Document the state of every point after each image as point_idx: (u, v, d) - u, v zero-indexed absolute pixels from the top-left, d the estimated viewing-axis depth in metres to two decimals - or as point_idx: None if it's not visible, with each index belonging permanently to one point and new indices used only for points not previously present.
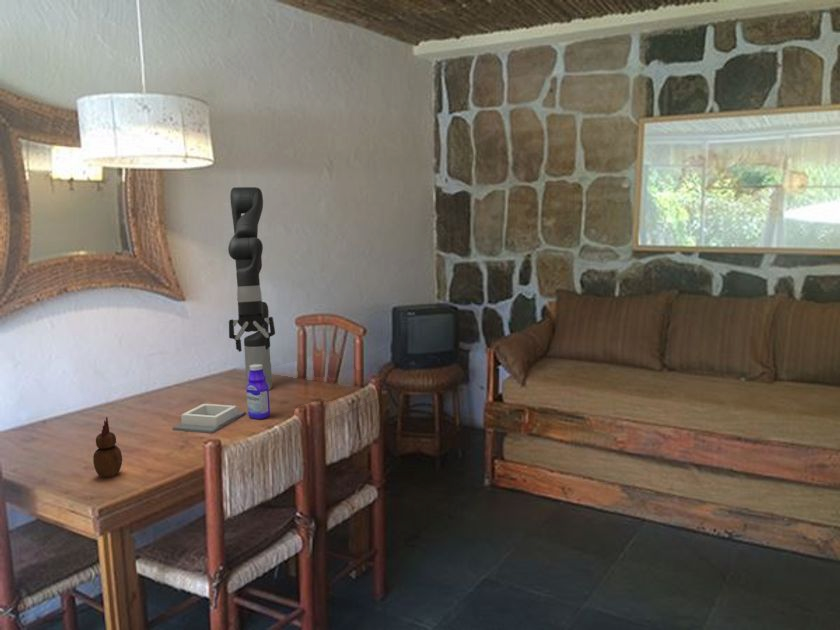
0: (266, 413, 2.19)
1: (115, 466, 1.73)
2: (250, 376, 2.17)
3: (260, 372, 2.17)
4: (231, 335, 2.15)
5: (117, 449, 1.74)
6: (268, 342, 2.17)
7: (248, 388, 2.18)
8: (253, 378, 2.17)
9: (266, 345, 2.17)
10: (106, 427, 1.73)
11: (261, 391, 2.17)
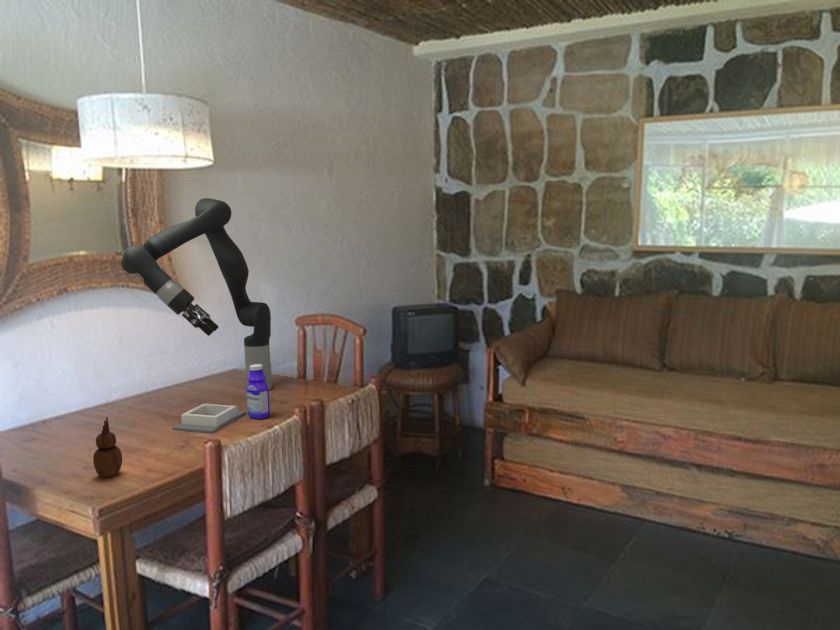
0: (266, 413, 2.19)
1: (115, 466, 1.73)
2: (250, 376, 2.17)
3: (260, 372, 2.17)
4: None
5: (117, 449, 1.74)
6: None
7: (248, 388, 2.18)
8: (253, 378, 2.17)
9: None
10: (106, 427, 1.73)
11: (261, 391, 2.17)
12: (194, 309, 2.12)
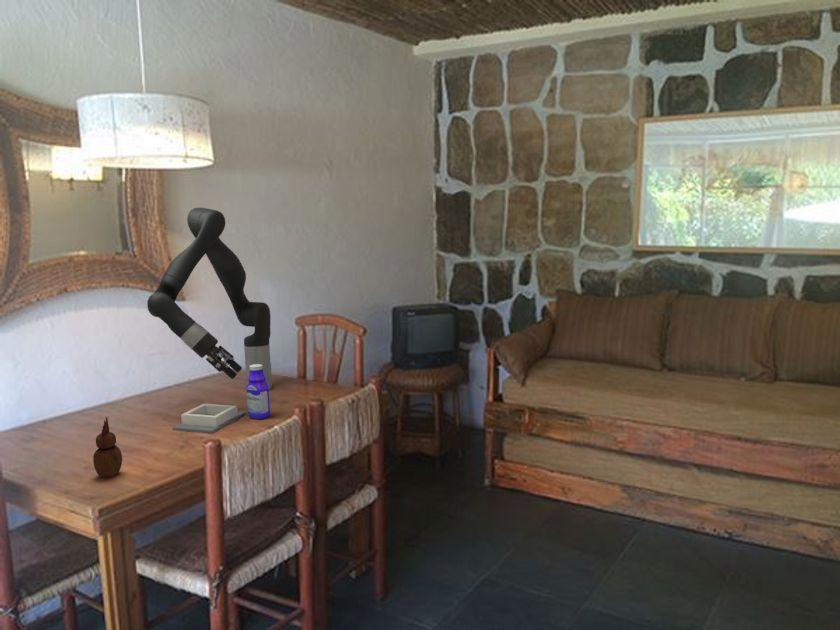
0: (266, 413, 2.19)
1: (115, 466, 1.73)
2: (250, 376, 2.17)
3: (260, 372, 2.17)
4: None
5: (117, 449, 1.74)
6: None
7: (248, 388, 2.18)
8: (253, 378, 2.17)
9: None
10: (106, 427, 1.73)
11: (261, 391, 2.17)
12: (218, 352, 2.15)
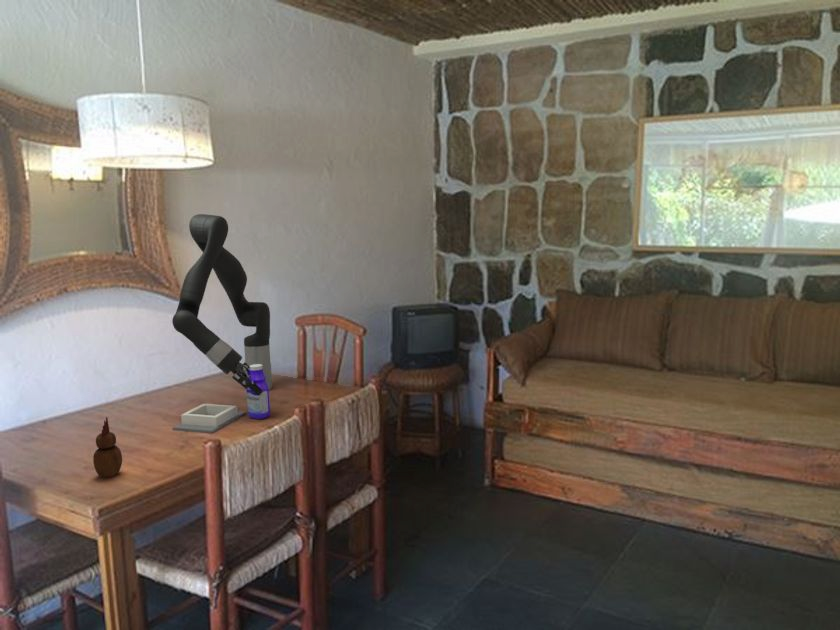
0: (265, 413, 2.19)
1: (115, 466, 1.73)
2: None
3: (260, 372, 2.17)
4: None
5: (117, 449, 1.74)
6: None
7: None
8: (253, 378, 2.17)
9: None
10: (106, 427, 1.73)
11: None
12: (243, 369, 2.16)
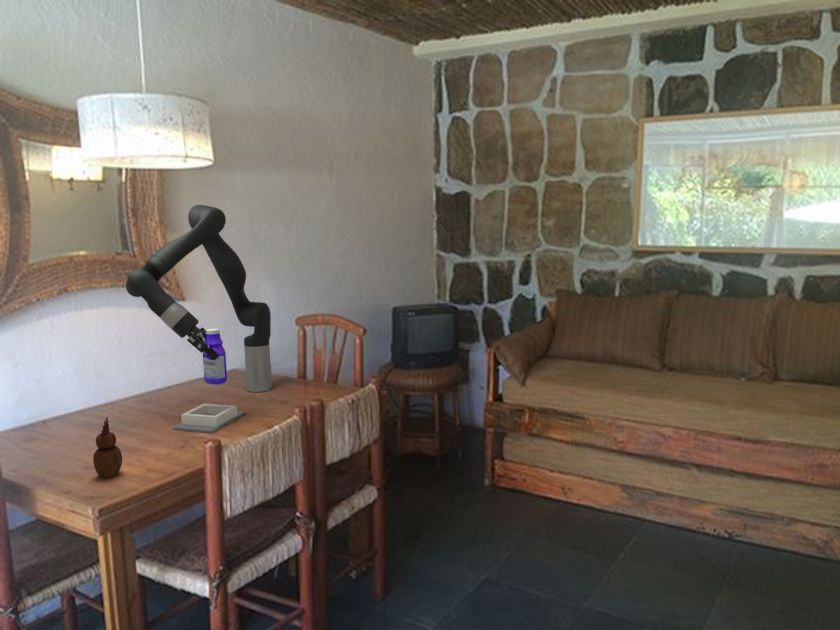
0: (222, 378, 2.13)
1: (115, 466, 1.73)
2: None
3: (217, 336, 2.12)
4: None
5: (117, 449, 1.74)
6: None
7: None
8: (209, 342, 2.11)
9: None
10: (106, 427, 1.73)
11: None
12: (198, 333, 2.11)
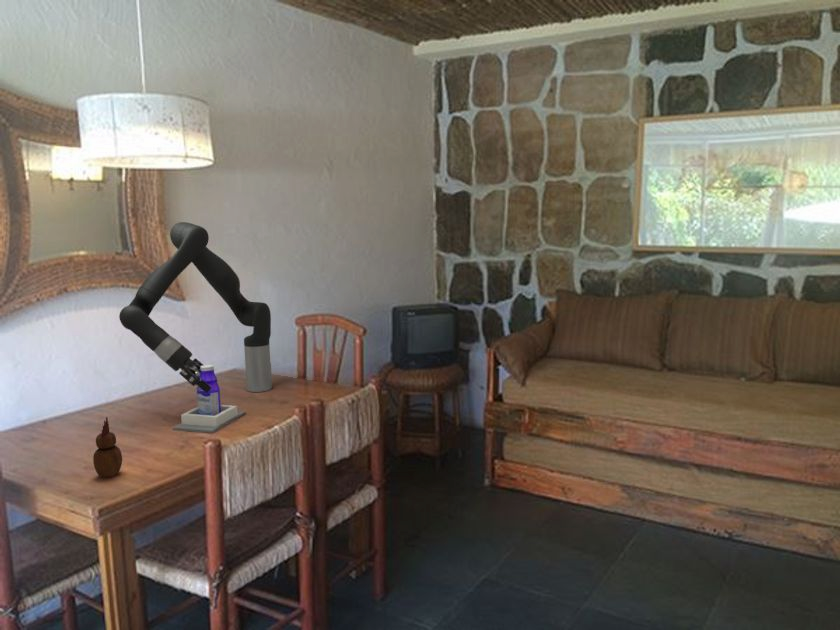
0: (216, 414, 2.15)
1: (115, 466, 1.73)
2: None
3: (211, 373, 2.14)
4: None
5: (117, 449, 1.74)
6: None
7: (198, 389, 2.14)
8: (203, 378, 2.13)
9: None
10: (106, 427, 1.73)
11: (212, 392, 2.13)
12: (192, 366, 2.12)
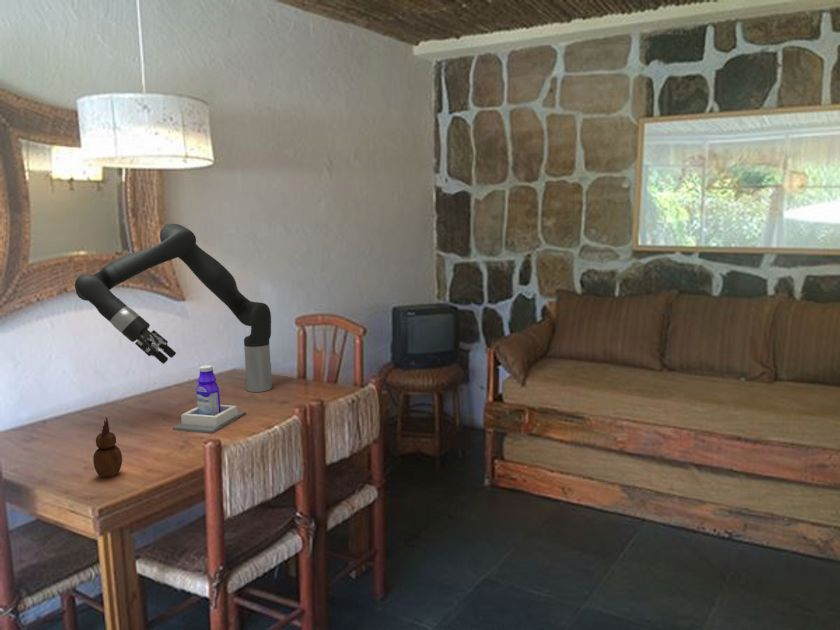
0: None
1: (115, 466, 1.73)
2: (200, 377, 2.13)
3: (210, 373, 2.13)
4: None
5: (117, 449, 1.74)
6: None
7: (198, 390, 2.14)
8: (203, 379, 2.12)
9: None
10: (106, 427, 1.73)
11: (211, 393, 2.13)
12: (149, 336, 2.09)
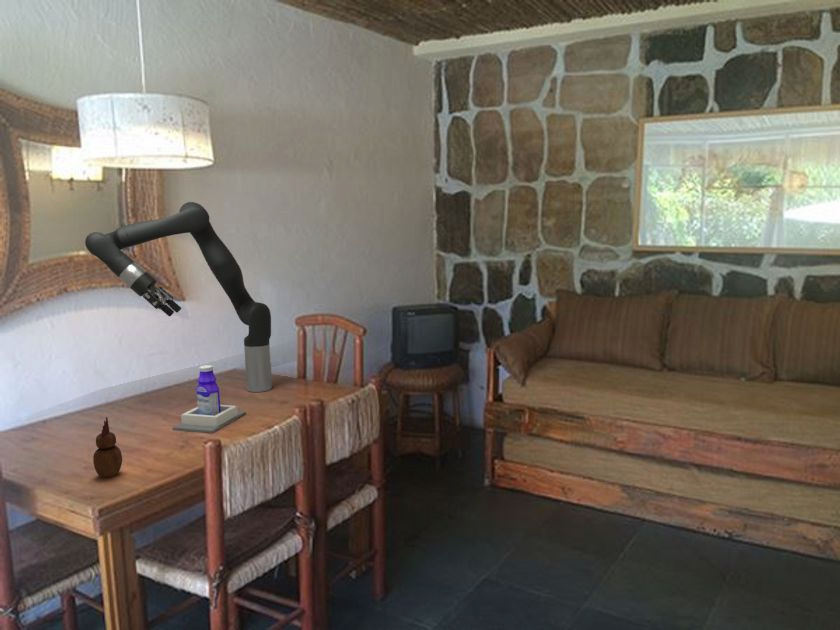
0: None
1: (115, 466, 1.73)
2: (200, 377, 2.13)
3: (210, 373, 2.13)
4: None
5: (117, 449, 1.74)
6: None
7: (198, 390, 2.14)
8: (203, 379, 2.12)
9: None
10: (106, 427, 1.73)
11: (211, 393, 2.13)
12: (156, 291, 2.22)
